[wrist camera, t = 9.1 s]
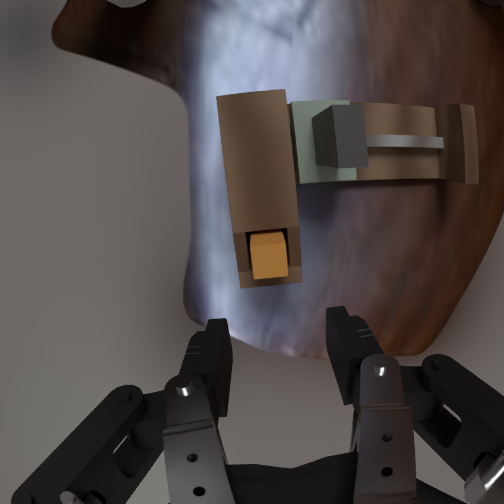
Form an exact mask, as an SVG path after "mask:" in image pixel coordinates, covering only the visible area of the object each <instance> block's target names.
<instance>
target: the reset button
mask: <svg viewBox="0 0 504 504" xmlns="http://www.w3.org/2000/svg"><path fill="white" fill-rule="evenodd" d="M250 250H251V258H252V267H253V275H254V279H263V278H273V277H283V276H288V266H287V253H286V243H285V240H284V237H283V233H282V230H281V228H278V229H268V230H259V231H251V241H250Z"/></svg>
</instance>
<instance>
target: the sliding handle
mask: <svg viewBox="0 0 504 504" xmlns="http://www.w3.org/2000/svg"><path fill="white" fill-rule="evenodd" d="M289 111H290V119H291V124H290V134H292V137H293V146H294V154H293V162H294V163H295V165H296V176H297V182H298V183H300V184H302V183H315V182H329V181H344V180H357V177H356V168H362V167H369V165H368V151H367V140H366V129H365V120H364V112H363V105H350V104H349V100H329V101H298V102H291V103H290V105H289Z"/></svg>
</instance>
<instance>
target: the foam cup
mask: <svg viewBox="0 0 504 504" xmlns="http://www.w3.org/2000/svg"><path fill="white" fill-rule="evenodd" d="M108 1H109V2H111V3H113V4H115V5H117V6H119V7H121V8H123V7H133V6H136V5H138V4H141V3H143V2H145V1H146V0H108Z"/></svg>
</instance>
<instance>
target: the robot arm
mask: <svg viewBox="0 0 504 504" xmlns="http://www.w3.org/2000/svg"><path fill="white" fill-rule="evenodd" d="M480 1H482V2H483V3H485V4H487V5H489V6H496V5H498V4H499V5H501V6H502V5H504V0H480ZM326 347H327V352H328V355H329V358H330V361H331V364H332V367H333V371H334V374H335V377H336V380H337V383H338V386H339V389H340V393H341V396H342V399H343V403H344V405H348V404H353V407H354V413H353V422H352V433H351V444H350V452H349V453H344V454H339V455H333V456H328V457H324V458H321V459H319V460H316V461H313V462H310V463H307V464H305V465H302V466H298V467H295V468H281V467H273V466H266V465H258V464H240V465H228V461H227V458H226V454H225V451H224V448H223V444H222V440H221V437H220V433H219V430H218V427H217V426H218V420H219V417H227V411H228V401H229V392H230V382H231V373H232V364H233V353H232V345H231V340H230V334H229V329H228V323H227V320H226V318H220V319H209V320H208V323H207V326H206V330H205V331H197V332H196V333H195V334H194V335H193V336H192V337H191V338H190V341H189V345H188V348H187V350H186V354H185V356H184V360H183V363H182V366H181V369H180V372H179V375H177V376H175V377H173V378H171V379H170V380H169V381H168V382H167V383H166V385H165V389H164V390H162V391H158V392H153V393H148V394H143V393H142V391H141V389H140V388H139V387H137V386H134V385H123V386H120V387H117V388H116V389H114V390H113V391H111V392H110V393H109V394H108V396H107V397H105V399H104V400H103V401H102V402H101V403H100V404H99V405H98V406H97V407H96V408H95V409H94V410H93V411H92V412H91V413H90V414H89V415H88V416H87V417H86V418H85V419H84V420H83V421H82V422H81V423H80V424H79V426H77V427H76V428H75V430H74V431H73V432H72V433H71V434H70V435H69V436H68V437H67V438H66V439H65V440H64V441H63V442H62V443H61V444H60V445H59V446H58V447H57V449H55V450H54V451H53V452H52V453H51V455H49V457H48V458H47V459H46V460H45V461H44V462H43V463H42V464H41V465H40V466H39V467H38V468H37V469H36V470H35V471H34V472H33V473H32V474H31V475H30V476H29V477H28V478H27V479H26V481H25V482H24V483H23V484H22V485H21V486H20V487H19V488H18V489H17V490H16V491H15V492H14V494H13V496H12V499H11V504H125V503H126V502H127V501H128V499H129V498H130V497H131V495H132V494H133V492H134V491H135V490H136V488H137V486H138V485H139V484H140V483H141V481H142V480H143V478H144V477H145V476H146V474H147V473H148V471H149V470H150V469H151V467H152V466H153V464H154V463H155V461H156V460H157V458H158V457H159V456H160V454H161V453H162V451H163V450H164V455H165V465H166V474H167V482H168V490H169V497H170V503H168V504H467V503H465V502H463V501H460V500H459V499H456V498H454V497H452V496H450V495H448V494H446V493H444V492H442V491H440V490H438V489H436V488H434V487H432V486H430V485H428V484H426V483H424V482H422V481H421V480H418V479H417V478H416V463H415V446H414V433H413V430H414V431H416V433H417V434H418V435H420V437H421V438H422V439H423V440H424V441H425V442H426V443H427V444H428V445H429V446H430V447H431V448H432V449H433V450H434V451H435V452H436V453H437V454H438V455H439V456H440V457H441V458H442V459H443V460H444V461H445V462H446V463H447V464H448V465H449V466H450V467H451V468H452V469H453V470H454V471H455V472H456V473H457V474H458V475H459V476H460V477H461V478H462V479H463V480H464V481H465V484H464V491H465V500H466V501H468V502H470V504H504V396H503V395H501V394H500V393H499V392H497V391H496V390H495V389H493V388H492V387H491V386H489V385H488V384H486V383H485V382H484V381H483V380H481V379H480V378H478V377H477V376H476V375H474V374H473V373H472V372H470V371H469V370H467V369H466V368H465V367H463V366H462V365H460V364H459V363H458V362H456V361H455V360H454V359H452V358H450V357H449V356H446V355H442V354H434V355H430V356H428V357H426V358H425V359H424V360H423V362H422V366H400V365H399V363H398V361H397V360H396V359H395V358H393V357H392V356H389V355H386V354H384V352H383V351H382V349H381V347H380V345H379V344H378V342H377V340H376V339H375V337H374V335H373V333H372V332H371V330H370V329H369V327H368V325H367V323H366V321H365V320H363V319H362V318H360V317H359V316H357V315H356V316H349V314H348V312H347V310H346V308H345V307H344V306H338V307H331V308H327V309H326ZM444 404H445V405H446V406H448V407H449V408H450V409H451V410H452V411H453V412H455V413H456V414H457V415H458V416H459V417H460V419H461V422H462V423H461V422H460V421H459V420H458V419H457V418H456V417H454V416H453V415H452V414H451V413H450V412H449V411H448V410H446V409H445V408H444V407H443V406H444ZM126 436H127V438H126V439H125V440H124V442H123V443H122V444H121V445H120V446H119V448H118V449H117V450H116V451H115V453H114V454H113V452H114V450H115V449H116V448H117V446H118V445H119V444H120V443H121V441H122V440H123V439H124V438H125V437H126Z"/></svg>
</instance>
